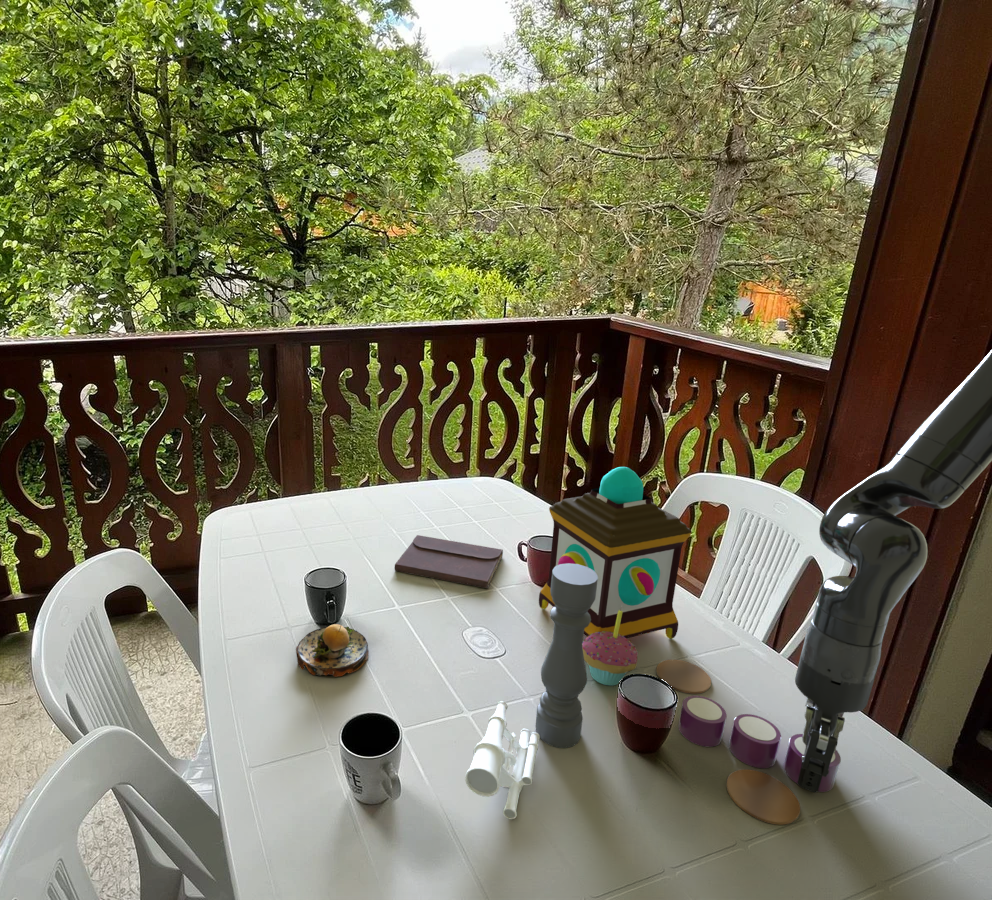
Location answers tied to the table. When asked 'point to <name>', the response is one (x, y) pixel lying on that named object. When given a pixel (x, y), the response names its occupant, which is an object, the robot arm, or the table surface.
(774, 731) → the middle dish
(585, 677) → the candle holder
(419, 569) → the brown flap folio case
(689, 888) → the table surface
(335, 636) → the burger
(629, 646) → the cupcake
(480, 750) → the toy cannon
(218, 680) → the table surface
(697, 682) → the far coaster
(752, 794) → the near coaster
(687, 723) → the purple cream-topped cylinder
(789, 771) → the purple short cylinder
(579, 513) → the decorative lantern
